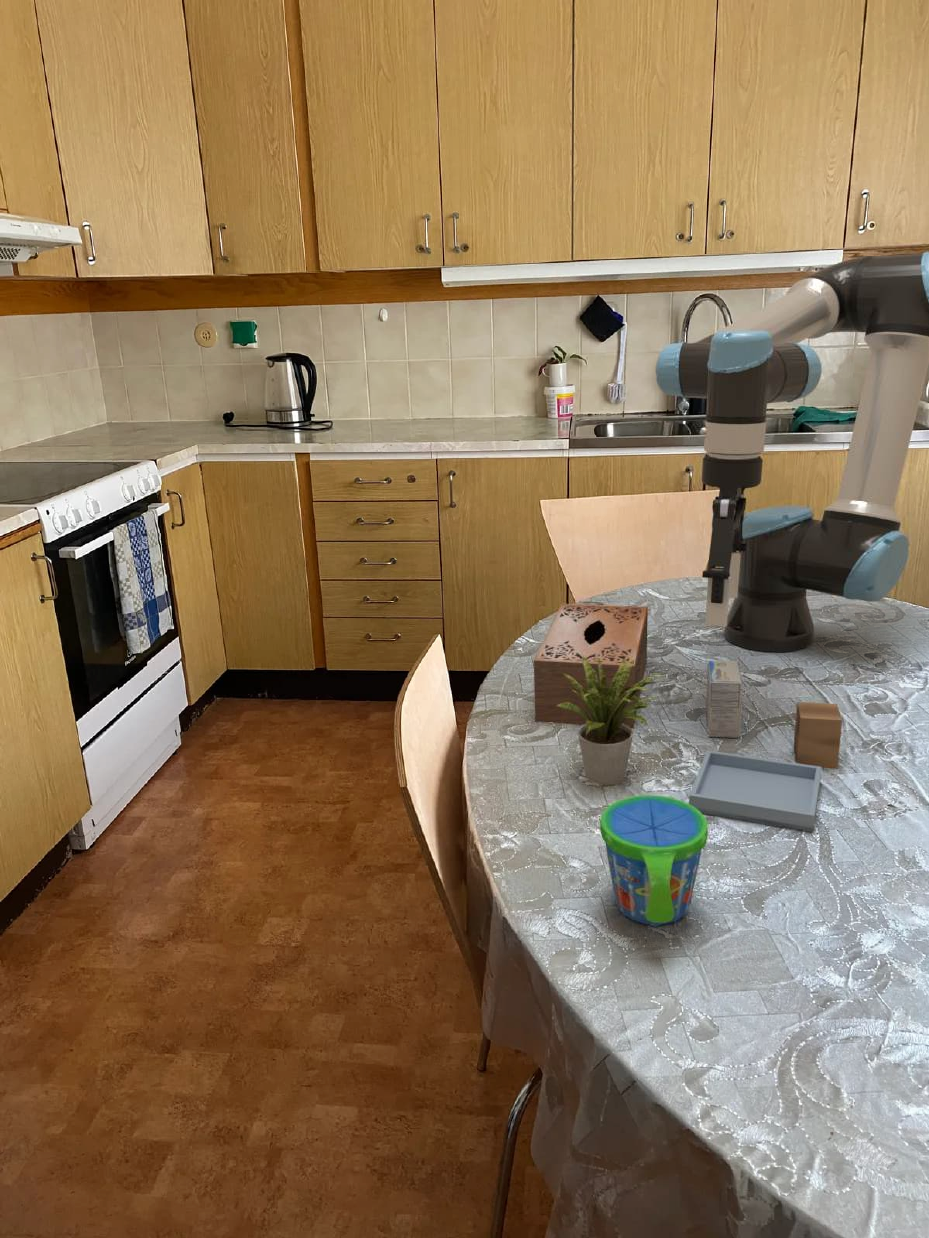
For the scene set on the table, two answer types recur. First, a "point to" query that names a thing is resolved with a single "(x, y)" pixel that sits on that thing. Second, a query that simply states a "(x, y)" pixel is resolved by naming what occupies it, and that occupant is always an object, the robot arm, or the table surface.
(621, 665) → the house plant
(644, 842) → the snack cup
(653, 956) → the table surface
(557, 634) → the tissue box cover
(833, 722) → the walnut block
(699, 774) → the grey tray
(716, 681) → the medicine box
